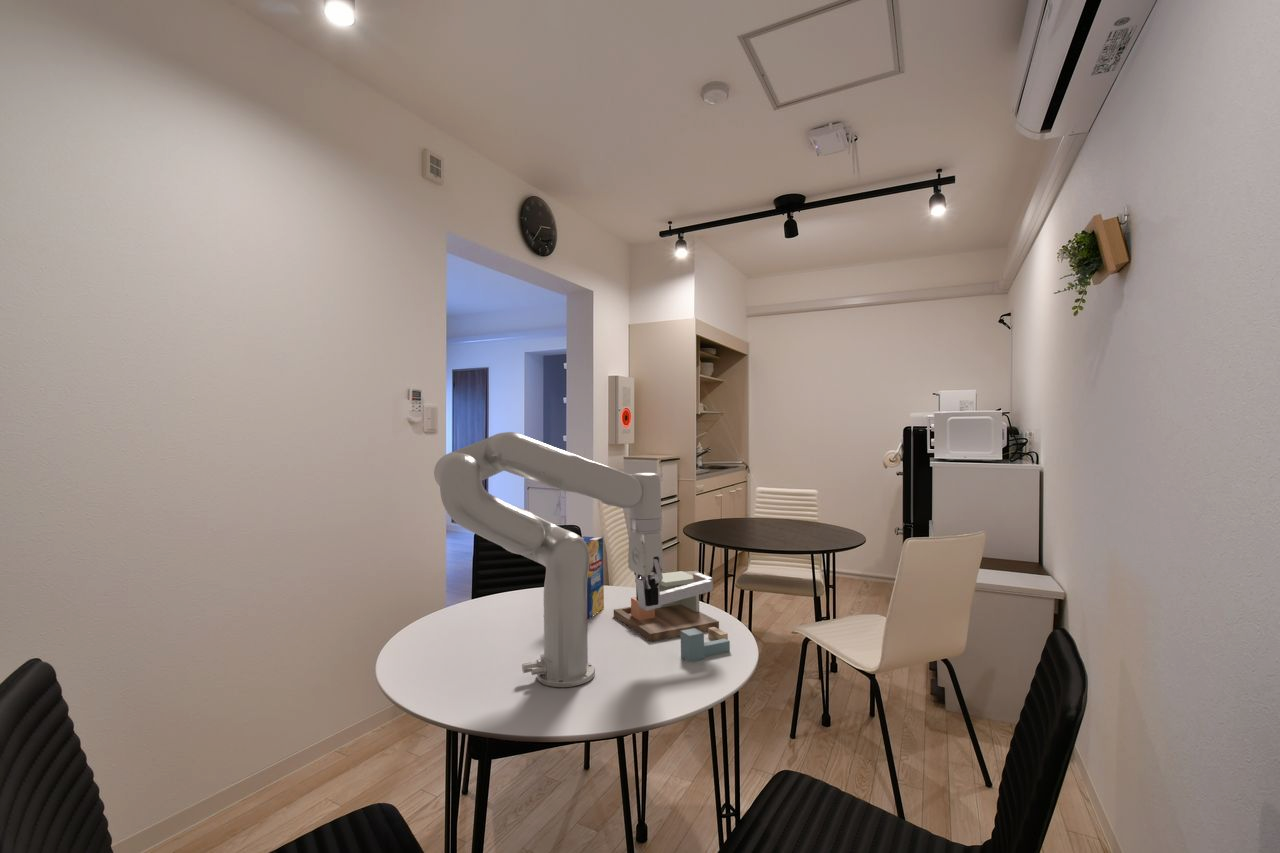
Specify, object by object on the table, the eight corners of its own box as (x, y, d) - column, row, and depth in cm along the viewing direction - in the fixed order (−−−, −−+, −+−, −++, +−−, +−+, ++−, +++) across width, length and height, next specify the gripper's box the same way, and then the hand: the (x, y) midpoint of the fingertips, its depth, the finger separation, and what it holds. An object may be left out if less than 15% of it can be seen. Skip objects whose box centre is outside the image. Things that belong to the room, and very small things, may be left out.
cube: (638, 620, 154) (638, 602, 154) (631, 615, 159) (630, 597, 159) (654, 617, 156) (654, 599, 157) (646, 612, 161) (646, 595, 161)
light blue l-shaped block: (689, 661, 130) (689, 635, 130) (680, 656, 133) (680, 630, 133) (732, 652, 135) (731, 627, 135) (722, 647, 138) (722, 623, 139)
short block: (727, 643, 142) (727, 633, 142) (721, 644, 141) (721, 634, 141) (714, 636, 147) (714, 626, 147) (708, 637, 146) (708, 627, 146)
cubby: (666, 617, 156) (665, 582, 157) (649, 608, 165) (649, 575, 166) (699, 611, 161) (698, 577, 162) (681, 603, 170) (681, 571, 171)
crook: (646, 611, 130) (643, 581, 129) (628, 600, 138) (625, 572, 138) (720, 590, 139) (717, 562, 139) (698, 581, 148) (695, 555, 148)
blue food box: (604, 608, 172) (603, 537, 173) (588, 619, 162) (587, 543, 163) (584, 606, 175) (583, 536, 175) (567, 617, 164) (566, 542, 165)
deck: (650, 641, 143) (650, 633, 143) (613, 616, 165) (613, 609, 165) (719, 628, 152) (718, 621, 152) (675, 606, 174) (675, 599, 174)
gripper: (617, 522, 138) (618, 596, 138) (647, 531, 123) (649, 614, 123) (644, 519, 142) (645, 592, 141) (676, 528, 127) (678, 609, 126)
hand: (647, 601), depth 132 cm, fingers closed on crook, 4 cm apart
